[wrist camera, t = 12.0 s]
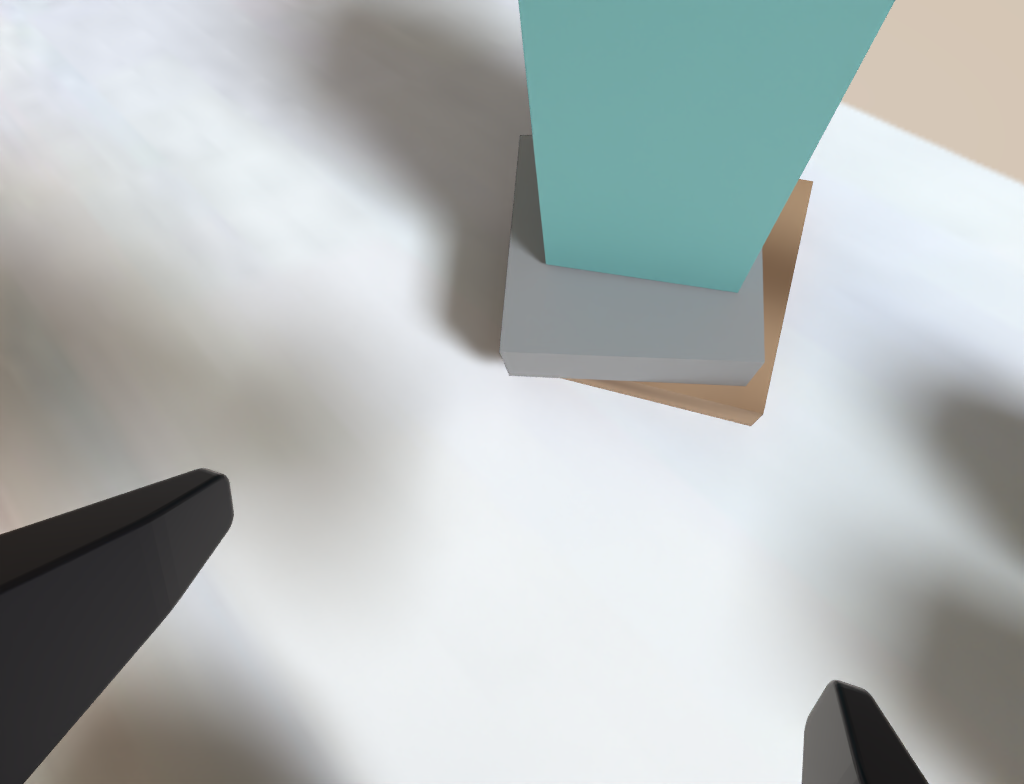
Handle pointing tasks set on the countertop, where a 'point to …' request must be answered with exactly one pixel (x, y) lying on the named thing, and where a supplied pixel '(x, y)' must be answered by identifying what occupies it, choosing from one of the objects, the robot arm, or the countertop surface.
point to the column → (680, 125)
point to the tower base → (777, 279)
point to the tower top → (619, 315)
